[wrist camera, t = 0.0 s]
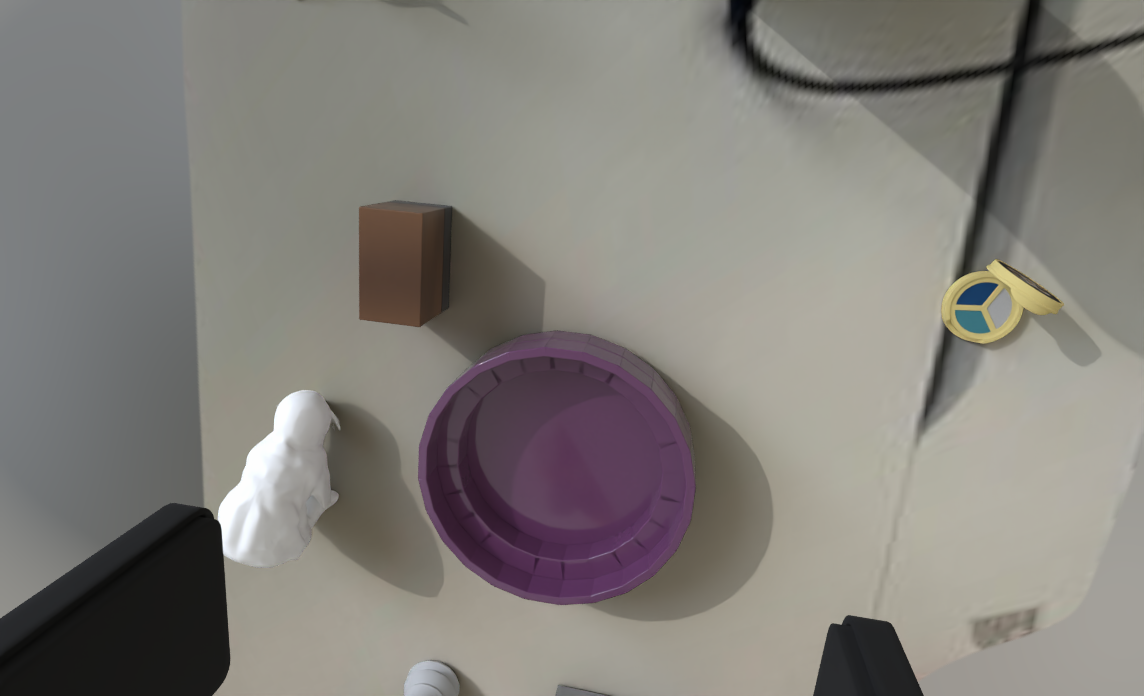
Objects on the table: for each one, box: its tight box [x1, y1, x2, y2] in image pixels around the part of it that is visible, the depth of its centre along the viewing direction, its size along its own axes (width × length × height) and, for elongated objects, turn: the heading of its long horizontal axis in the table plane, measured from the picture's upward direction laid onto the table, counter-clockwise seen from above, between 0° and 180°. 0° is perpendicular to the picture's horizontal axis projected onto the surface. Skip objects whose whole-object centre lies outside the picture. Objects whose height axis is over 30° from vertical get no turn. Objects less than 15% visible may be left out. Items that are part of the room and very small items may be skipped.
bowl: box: [418, 331, 696, 605], centre depth 47 cm, size 18×18×5 cm
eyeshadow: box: [941, 259, 1064, 343], centre depth 40 cm, size 4×5×5 cm
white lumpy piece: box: [218, 390, 341, 568], centre depth 49 cm, size 6×8×12 cm
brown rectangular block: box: [359, 200, 452, 327], centre depth 45 cm, size 7×4×6 cm, turn 174°
